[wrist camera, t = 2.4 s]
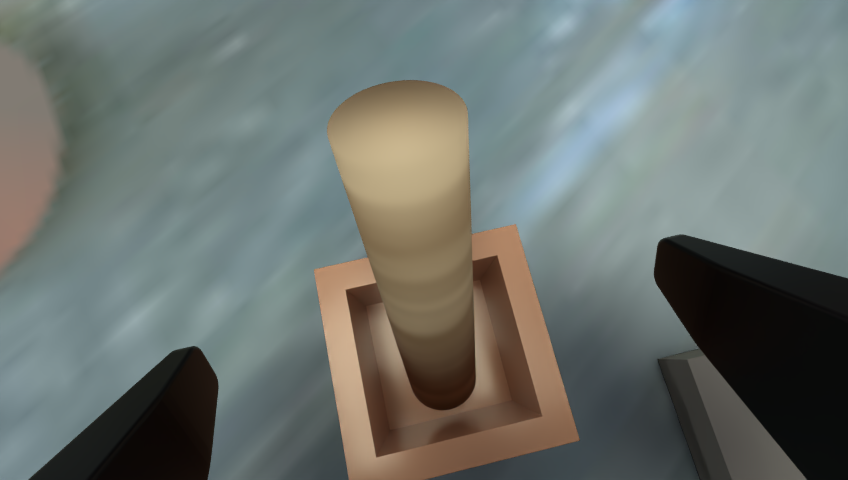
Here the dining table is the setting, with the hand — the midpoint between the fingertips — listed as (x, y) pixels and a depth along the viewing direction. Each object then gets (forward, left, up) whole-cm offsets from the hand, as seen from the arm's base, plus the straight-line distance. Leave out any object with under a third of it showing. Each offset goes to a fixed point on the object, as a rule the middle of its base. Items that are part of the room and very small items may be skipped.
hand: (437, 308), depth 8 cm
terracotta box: (-1, 0, -9) cm, 9 cm away
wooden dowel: (0, 0, -9) cm, 9 cm away
